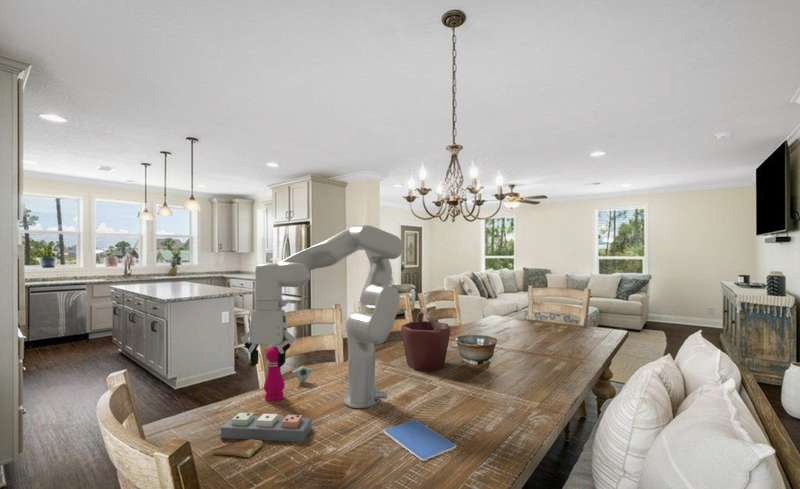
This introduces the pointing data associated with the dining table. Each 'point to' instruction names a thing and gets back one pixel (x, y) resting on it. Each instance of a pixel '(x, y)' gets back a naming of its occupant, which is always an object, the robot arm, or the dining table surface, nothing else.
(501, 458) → the dining table surface
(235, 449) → the shard
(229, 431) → the key panel
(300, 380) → the pig figurine
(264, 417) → the key one pip
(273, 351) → the pepper mill
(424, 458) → the tablet computer
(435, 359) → the bucket
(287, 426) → the key three pips
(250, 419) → the key two pips
